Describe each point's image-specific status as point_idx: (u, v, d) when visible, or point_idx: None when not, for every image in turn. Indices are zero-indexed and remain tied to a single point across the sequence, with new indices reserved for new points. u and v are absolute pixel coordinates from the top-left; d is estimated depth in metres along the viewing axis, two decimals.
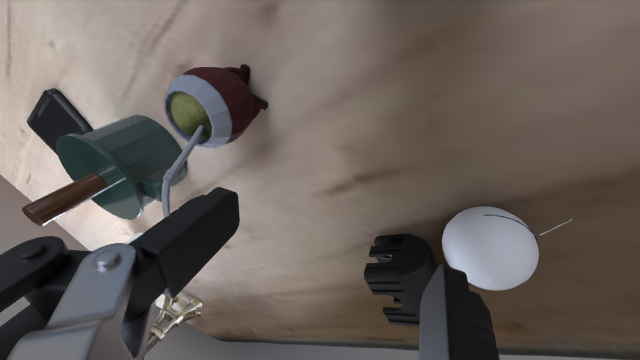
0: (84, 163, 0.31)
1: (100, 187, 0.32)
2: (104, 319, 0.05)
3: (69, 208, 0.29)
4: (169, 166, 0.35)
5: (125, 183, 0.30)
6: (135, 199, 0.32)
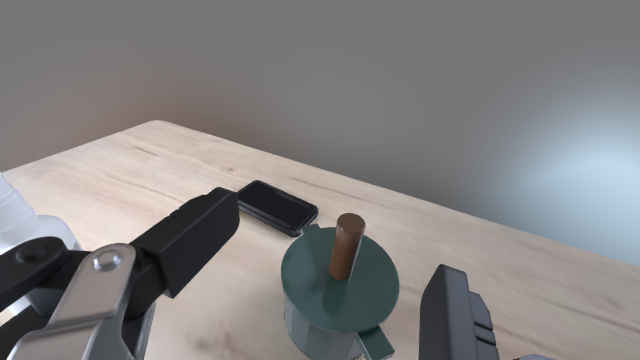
0: None
1: (347, 275, 0.26)
2: (104, 319, 0.05)
3: (348, 252, 0.24)
4: None
5: (381, 308, 0.24)
6: (363, 323, 0.23)
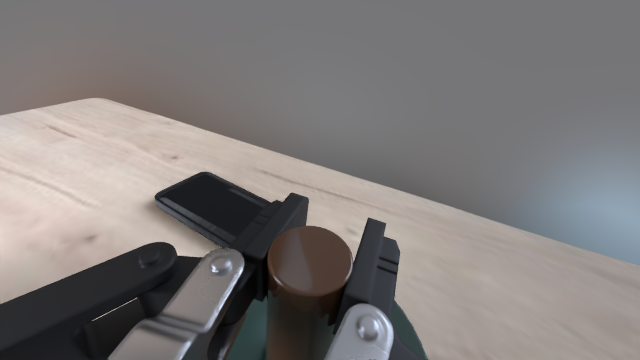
0: None
1: None
2: (197, 336, 0.05)
3: (303, 343, 0.08)
4: None
5: None
6: None
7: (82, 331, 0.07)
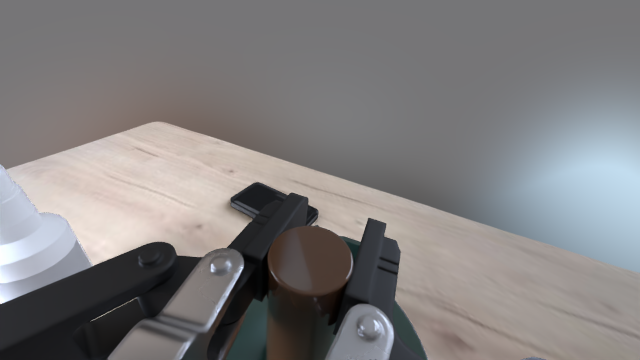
0: None
1: None
2: (196, 336, 0.05)
3: (303, 344, 0.08)
4: None
5: None
6: None
7: (82, 331, 0.07)
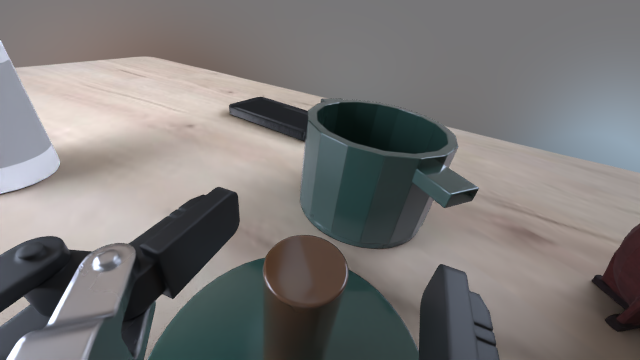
0: None
1: None
2: (104, 319, 0.05)
3: (299, 352, 0.08)
4: (416, 217, 0.19)
5: None
6: None
7: None
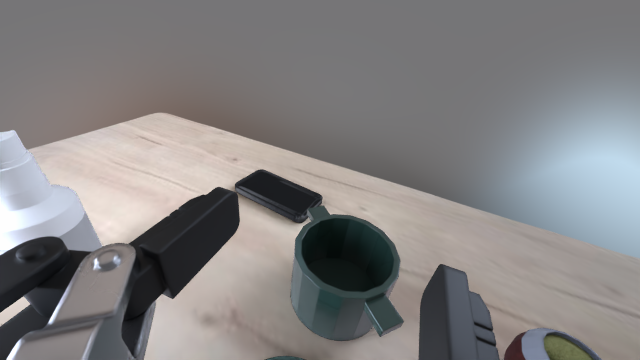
0: None
1: None
2: (104, 319, 0.05)
3: None
4: None
5: None
6: None
7: None
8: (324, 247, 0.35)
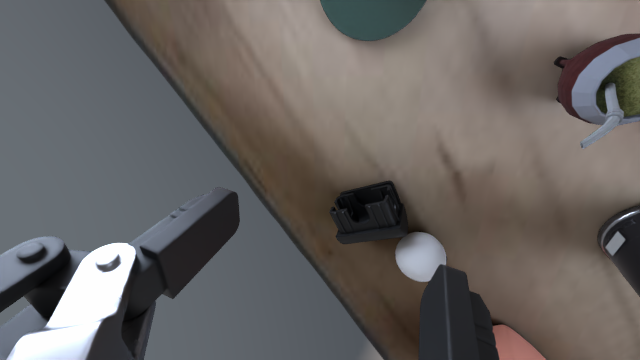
0: None
1: None
2: (104, 319, 0.05)
3: None
4: None
5: (376, 31, 0.29)
6: (355, 33, 0.30)
7: None
8: None
